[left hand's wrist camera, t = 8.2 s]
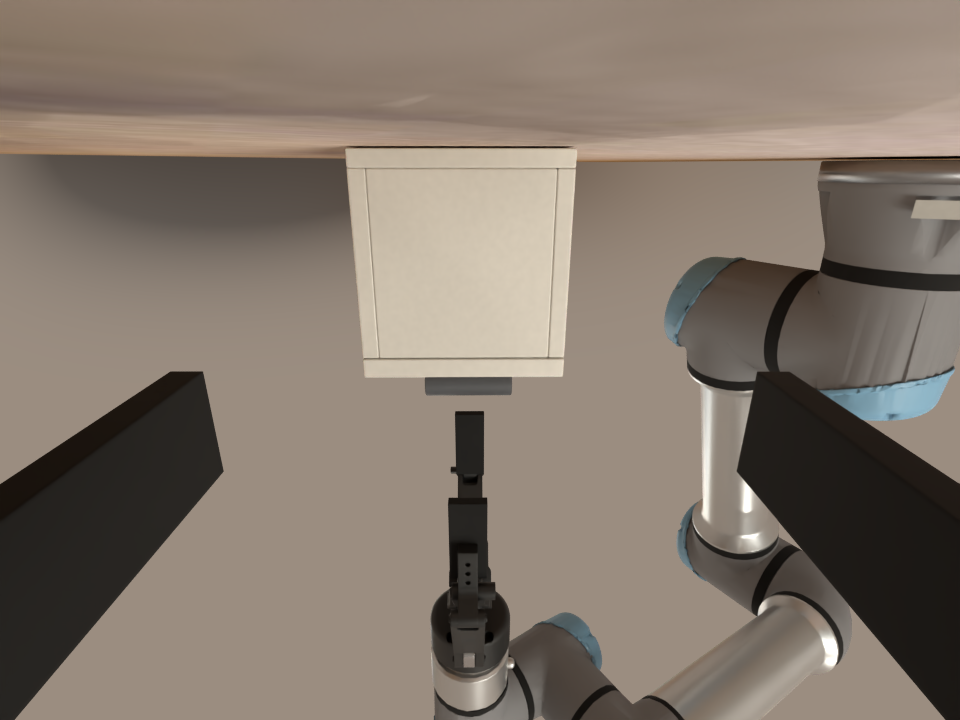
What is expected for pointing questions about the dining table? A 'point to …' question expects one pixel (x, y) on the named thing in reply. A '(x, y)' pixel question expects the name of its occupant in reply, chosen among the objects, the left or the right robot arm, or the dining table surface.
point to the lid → (465, 372)
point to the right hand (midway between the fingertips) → (468, 449)
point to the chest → (462, 250)
